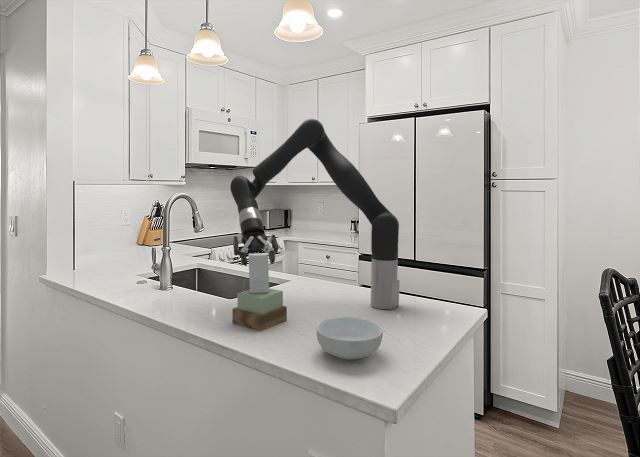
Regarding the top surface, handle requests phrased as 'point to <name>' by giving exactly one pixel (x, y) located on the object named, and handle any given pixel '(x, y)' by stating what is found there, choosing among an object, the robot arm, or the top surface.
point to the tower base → (259, 318)
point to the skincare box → (258, 273)
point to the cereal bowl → (349, 337)
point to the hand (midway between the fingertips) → (259, 263)
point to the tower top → (260, 301)
